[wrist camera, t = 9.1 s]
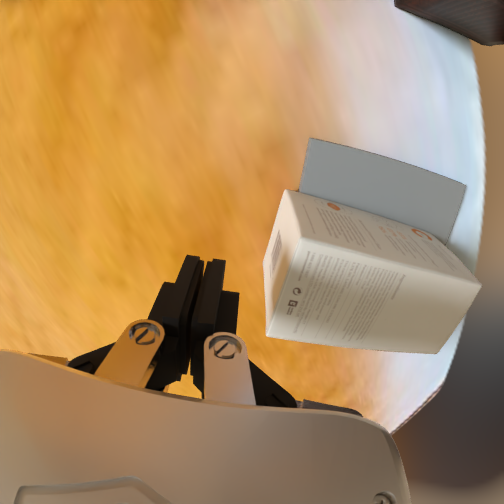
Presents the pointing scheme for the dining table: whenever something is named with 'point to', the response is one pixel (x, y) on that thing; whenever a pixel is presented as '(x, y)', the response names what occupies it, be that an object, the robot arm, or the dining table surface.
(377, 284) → the small box
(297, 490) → the robot arm
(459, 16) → the manual coffee grinder
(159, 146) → the dining table surface
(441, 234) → the mat
